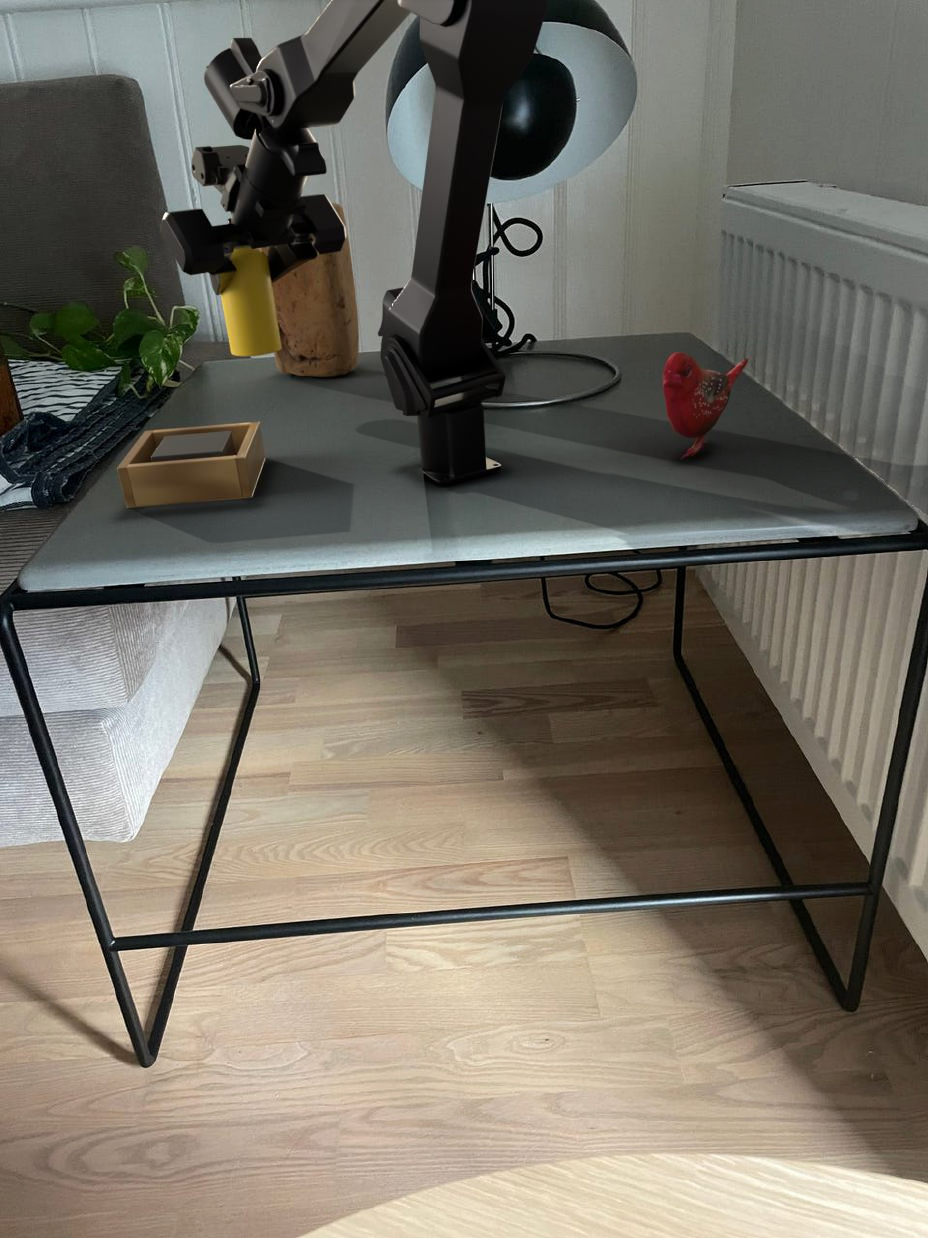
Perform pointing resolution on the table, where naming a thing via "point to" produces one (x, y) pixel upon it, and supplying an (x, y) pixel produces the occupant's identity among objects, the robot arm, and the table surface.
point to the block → (318, 315)
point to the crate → (192, 469)
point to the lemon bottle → (251, 305)
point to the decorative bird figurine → (695, 396)
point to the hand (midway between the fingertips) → (240, 287)
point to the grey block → (194, 446)
